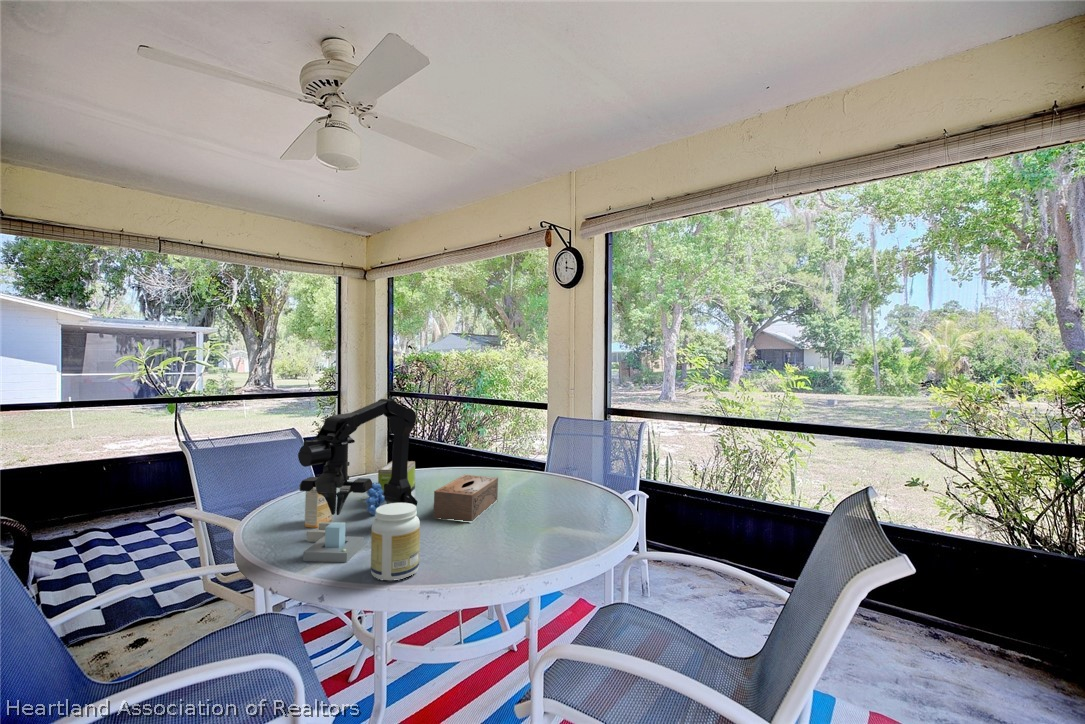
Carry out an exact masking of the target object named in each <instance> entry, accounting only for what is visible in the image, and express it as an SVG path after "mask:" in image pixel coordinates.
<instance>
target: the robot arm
mask: <svg viewBox="0 0 1085 724" xmlns="http://www.w3.org/2000/svg"><path fill="white" fill-rule="evenodd" d="M381 416H385V417H386V418H387V419H389V427H390V429H391V431H392V434H393V441H392V442H393V443H392V457H391V458H392V459H391V461H392V474H391V479H390V480H389V482H388V483H385V484H384V493H383V496H384V499H385V501H386V502H387V504H390V503H410V504H414V505H415V506H416V507H417V506H418V500H417V499H416V497H413V496H412V495H411V486H410V484H409V481H408V479H407V465H408V461H409V447H410V446H409V444H410V434H411V432H412V431H413V430H414V428H415V426H416V420H417V413H416V412H415V410H414V409H413V408H409V407H406V406H405V405H402V404H399V403H398V402H396V401H395V400H393V399H390V398H380V399H379V400H377V401H375V402H373V403H370V404H368V405H365V406H363V407H361V408H359V409H356V410H354V411H352V412H348V413H340V414H333V415H330V416H328V417H326V418H325V419H324V422H323V425H322V426H321V427H320V430H319V431H318V433H317V434H316V436H315V437H314V439H313V440H304V441H303V445H302V446H301V447H300V449H299V451H298V453H297V458H298V462H299V463H300V465H301V466H302V467H305V468H307V467H310V466H311V467H312V466H317V465H321V464H324V465H323V468H322V469H323V470H322V473H321V474H319V476H309V477H307V478H305V479H303V480H301V481H300V484H299V491H300V492H306V491H311V490H312V489H313V487H316V491H317V493H318V494H321V495H322V496H324V497H325V499H326V501H327V503H328V506H329V509H330V511H331V514H332V516H334V515H335V514H336V515H337V516H339V515H340V514H341V511H342V509H343V507H344V505H345V503H346V500H347V498H348V496H349V495H350V493H353V494H354V493H355V494H356V493H357V494H363V493H366V492H367V491H368V490H369V489H371V488H372V483H373V482H372V481H373V480H371V478H368V477H367V478H365V477H362V478H361V477H360V478H359V477H357V479H355V480H352V481H349V480H350V476H349V475H348V471H349V470H348V467H350V461H349V444H354V443H355V442H356V441H355V439H353V438H352V437H351V435H352V434H353V433H355V432H356V431H357V429H358V428H359V427H360V426H362V425H363V424H365V423H368V422H370V421H372V420H375V419H377V418H378V417H381ZM338 489H339V491H338V492H337V490H338Z"/></svg>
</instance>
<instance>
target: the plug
mask: <svg viewBox="0 0 1085 724" xmlns="http://www.w3.org/2000/svg"><path fill="white" fill-rule="evenodd" d="M345 536H346V532H345V523H331V524H329V525H328V526H327V527H325V548H341V547H342V546H343V545H344V544H345Z"/></svg>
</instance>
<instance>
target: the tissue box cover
mask: <svg viewBox="0 0 1085 724" xmlns="http://www.w3.org/2000/svg"><path fill="white" fill-rule="evenodd" d="M498 487H499V477H495V476H494V477H493V476H485V475H484V476H482V475H472V474H462V475H461V476H459V477H458V478H456V479H454V480H452V481H450V482H449V483H447V484H445V485H443V486H440V487H439V488H438V489H436V490H434V492H433V494H434V495H433V519H434V518H441V519H454V520H463V521H473V520H474V519H475V518H476V517H477V516H478V515H480V514H481V513H482V512H483V511H484V510H486V509H487V508H488V507H489V506H490V505H491V504H493V503H494V502H495V501H496V500H497V501H498V489H499V488H498Z"/></svg>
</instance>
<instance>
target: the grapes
mask: <svg viewBox="0 0 1085 724" xmlns="http://www.w3.org/2000/svg"><path fill="white" fill-rule="evenodd" d="M365 493H366V494H367V496H368V497H367V498H365V504H366V505H367V506H366V510H367V512H368V513H369V514H370V515H372V516H375V514H376V509H377V508H378V507H380V505H381V503H384V502H385V499H384V496H383V495H382V494H383V493H384V492H383V490H382V489H381V485H380V484H379V483H378V482H372V488H371V489H369V490H368V491H367V492H365Z"/></svg>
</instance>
